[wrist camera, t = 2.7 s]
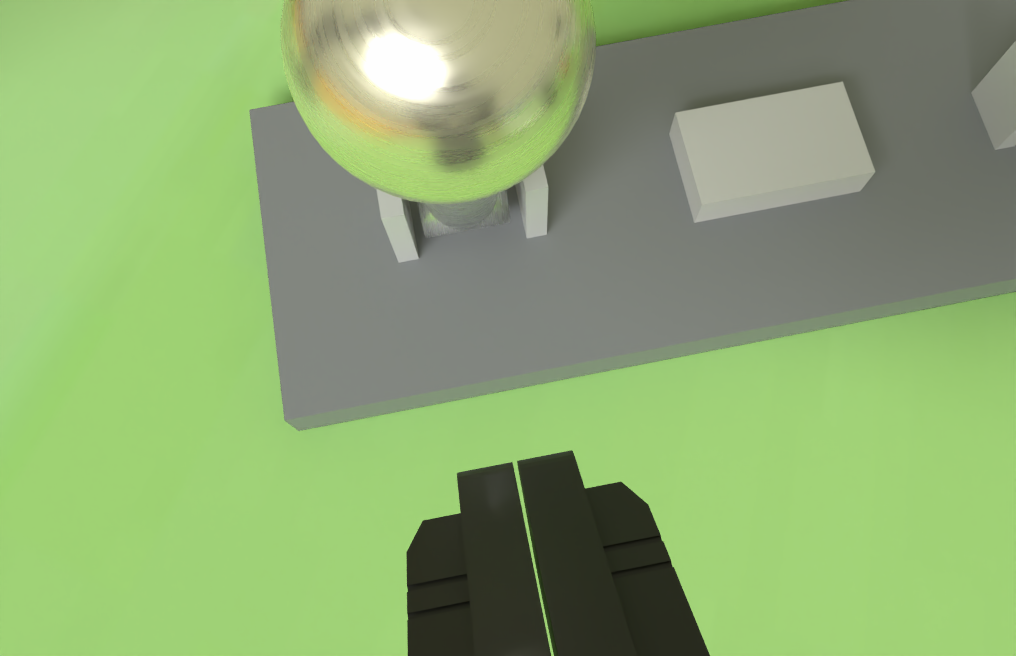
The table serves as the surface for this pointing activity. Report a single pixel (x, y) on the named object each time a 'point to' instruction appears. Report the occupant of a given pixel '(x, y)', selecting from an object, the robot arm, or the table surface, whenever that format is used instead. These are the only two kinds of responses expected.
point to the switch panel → (664, 212)
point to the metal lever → (440, 94)
